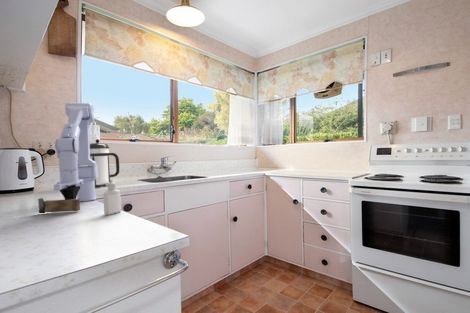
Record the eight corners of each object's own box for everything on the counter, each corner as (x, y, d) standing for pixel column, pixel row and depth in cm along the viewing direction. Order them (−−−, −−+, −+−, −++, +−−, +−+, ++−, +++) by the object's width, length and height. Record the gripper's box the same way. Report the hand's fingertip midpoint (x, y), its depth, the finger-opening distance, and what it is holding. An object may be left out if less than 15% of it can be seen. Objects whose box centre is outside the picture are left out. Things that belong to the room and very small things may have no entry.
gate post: (36, 212, 89) (35, 198, 89) (52, 211, 92) (51, 196, 91) (31, 216, 85) (30, 200, 85) (49, 214, 87) (48, 198, 87)
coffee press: (106, 187, 147) (104, 138, 146) (80, 188, 147) (78, 139, 146) (120, 183, 164) (118, 139, 163) (97, 184, 165) (95, 140, 164)
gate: (44, 212, 88) (43, 201, 87) (47, 211, 89) (47, 200, 89) (77, 211, 88) (76, 199, 88) (79, 209, 90) (79, 199, 90)
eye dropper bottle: (122, 212, 85) (121, 179, 85) (105, 215, 82) (103, 180, 82) (120, 210, 89) (118, 178, 89) (103, 213, 86) (101, 179, 85)
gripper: (69, 168, 97) (71, 202, 98) (43, 172, 83) (45, 211, 83) (87, 168, 98) (89, 201, 98) (64, 171, 83) (67, 210, 84)
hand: (70, 205), depth 91 cm, fingers closed
